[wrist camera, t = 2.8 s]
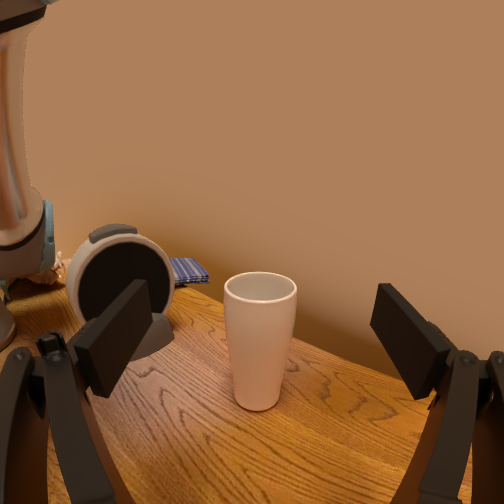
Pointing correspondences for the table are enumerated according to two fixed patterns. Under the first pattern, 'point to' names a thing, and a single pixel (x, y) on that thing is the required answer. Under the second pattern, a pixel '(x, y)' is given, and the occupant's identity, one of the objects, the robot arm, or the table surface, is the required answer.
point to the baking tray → (43, 277)
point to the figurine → (57, 259)
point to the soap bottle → (5, 288)
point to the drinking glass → (258, 335)
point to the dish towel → (188, 271)
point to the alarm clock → (121, 279)
